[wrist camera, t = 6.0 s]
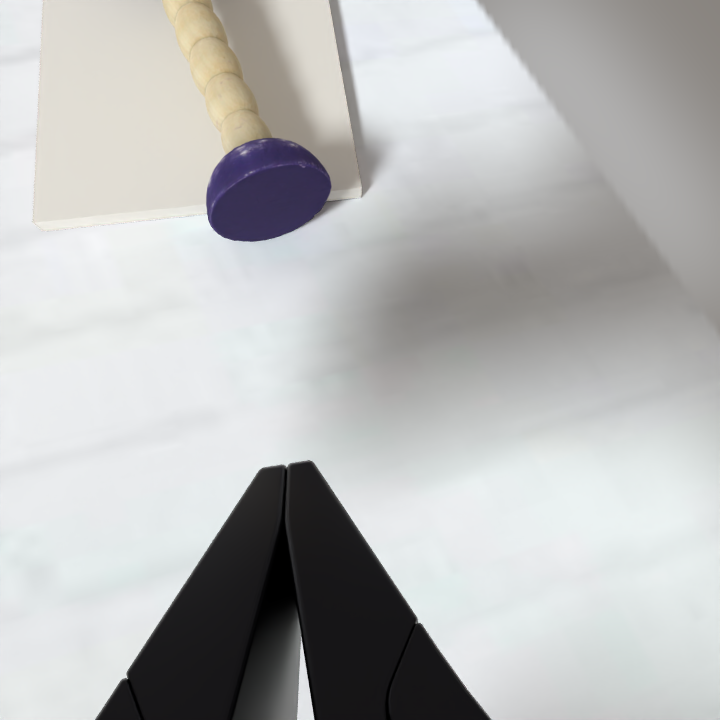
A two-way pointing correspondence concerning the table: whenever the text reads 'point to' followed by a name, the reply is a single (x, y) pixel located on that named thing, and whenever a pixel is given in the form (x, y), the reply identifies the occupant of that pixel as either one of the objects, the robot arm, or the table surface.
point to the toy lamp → (245, 140)
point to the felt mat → (173, 106)
